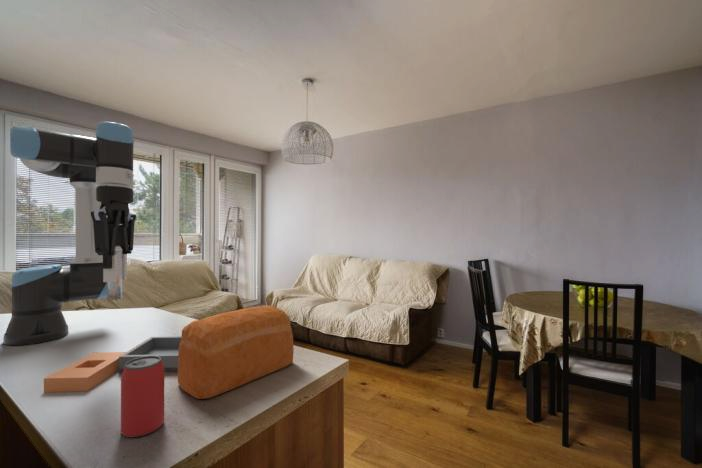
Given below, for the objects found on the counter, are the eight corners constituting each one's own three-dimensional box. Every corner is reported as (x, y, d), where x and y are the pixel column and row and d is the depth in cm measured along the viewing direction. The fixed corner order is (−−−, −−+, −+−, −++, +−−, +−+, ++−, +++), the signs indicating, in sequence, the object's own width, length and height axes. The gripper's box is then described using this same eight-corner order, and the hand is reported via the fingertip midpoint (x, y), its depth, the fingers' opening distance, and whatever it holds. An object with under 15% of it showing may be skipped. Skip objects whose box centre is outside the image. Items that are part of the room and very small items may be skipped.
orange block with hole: (93, 363, 85) (93, 352, 85) (129, 363, 86) (129, 351, 86) (43, 392, 70) (43, 378, 70) (87, 390, 71) (87, 377, 71)
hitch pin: (112, 297, 82) (112, 244, 82) (125, 297, 82) (125, 244, 82) (104, 300, 79) (104, 245, 79) (117, 299, 79) (117, 245, 79)
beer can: (134, 418, 61) (134, 354, 61) (171, 416, 61) (171, 353, 61) (111, 440, 54) (111, 369, 54) (152, 438, 55) (152, 368, 55)
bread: (298, 364, 86) (299, 305, 86) (202, 405, 66) (202, 328, 66) (266, 351, 95) (267, 298, 95) (172, 384, 74) (172, 316, 74)
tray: (151, 350, 95) (151, 336, 95) (203, 349, 96) (203, 336, 96) (118, 372, 80) (118, 356, 80) (181, 371, 81) (181, 355, 81)
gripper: (108, 182, 73) (108, 286, 73) (149, 191, 89) (149, 276, 89) (73, 181, 72) (73, 286, 72) (120, 190, 88) (120, 276, 88)
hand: (115, 280), depth 81 cm, fingers closed on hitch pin, 3 cm apart
